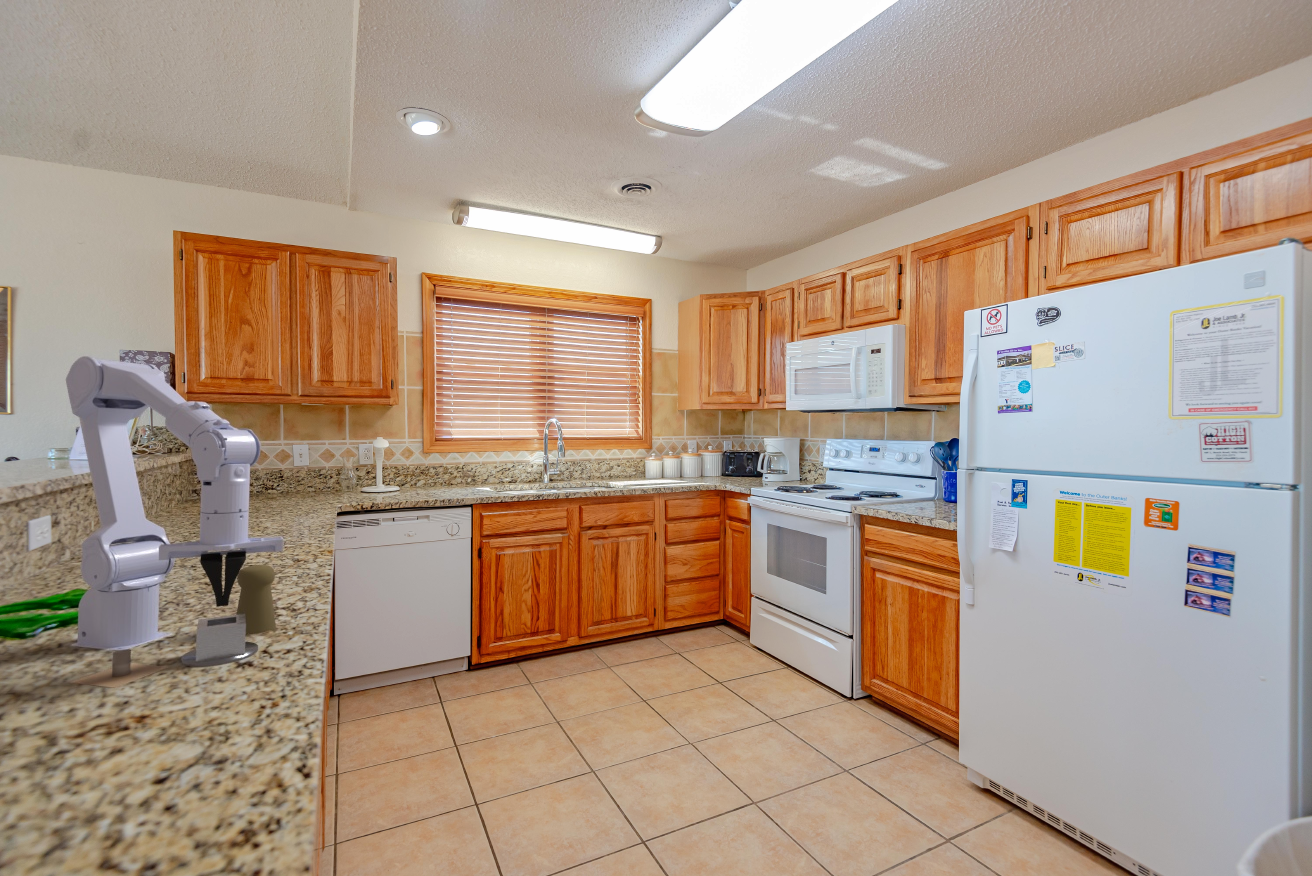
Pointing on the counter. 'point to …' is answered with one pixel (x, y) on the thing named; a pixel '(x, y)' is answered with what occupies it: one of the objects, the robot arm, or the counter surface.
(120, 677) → the stand
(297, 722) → the counter surface
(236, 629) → the square metal tube
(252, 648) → the hub
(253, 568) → the cork
